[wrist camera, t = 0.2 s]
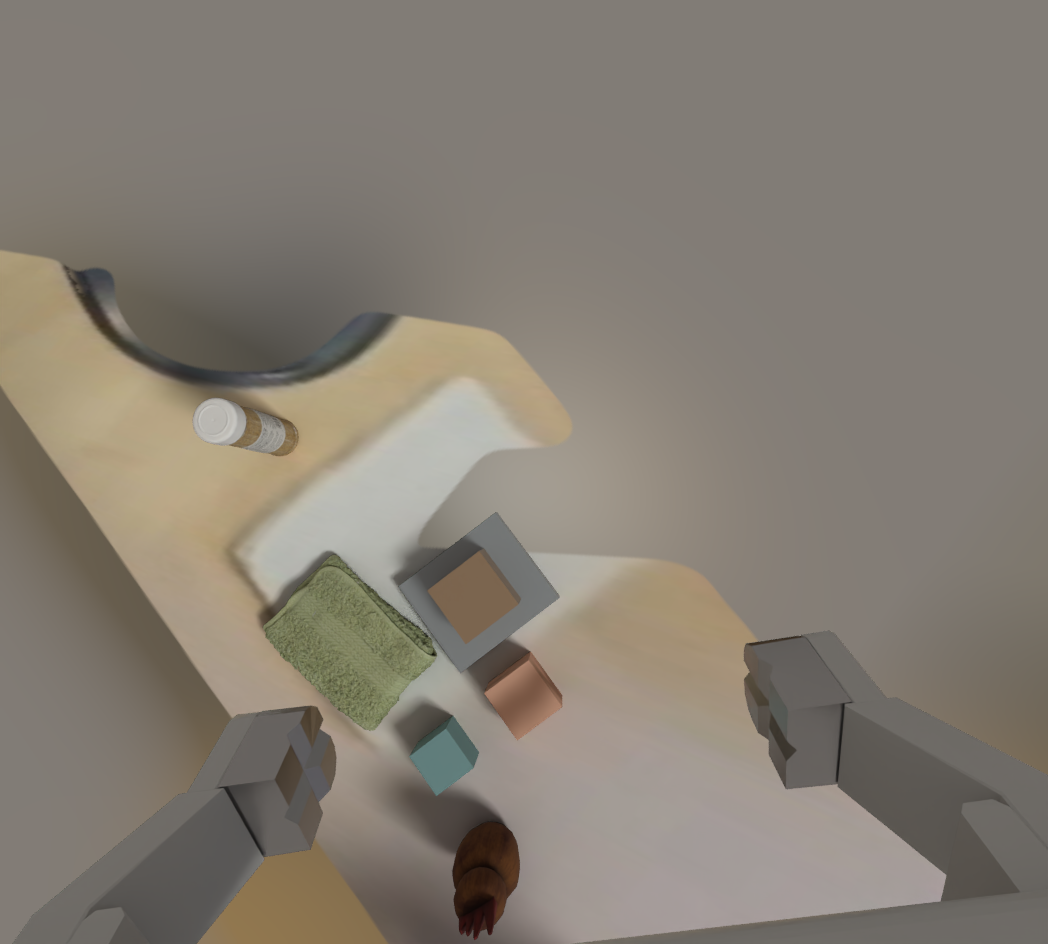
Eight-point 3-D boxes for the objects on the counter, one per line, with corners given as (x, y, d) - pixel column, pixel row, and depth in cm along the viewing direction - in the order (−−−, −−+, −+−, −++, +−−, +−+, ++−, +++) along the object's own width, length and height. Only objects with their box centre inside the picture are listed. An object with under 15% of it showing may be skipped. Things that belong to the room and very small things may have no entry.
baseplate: (559, 595, 63) (559, 603, 58) (462, 669, 63) (453, 684, 58) (496, 512, 65) (491, 512, 59) (402, 584, 65) (387, 591, 59)
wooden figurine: (518, 810, 62) (505, 904, 47) (525, 864, 61) (514, 976, 47) (459, 816, 62) (427, 912, 47) (465, 870, 62) (436, 984, 47)
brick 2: (562, 694, 63) (562, 706, 59) (519, 726, 63) (517, 740, 59) (530, 650, 63) (528, 660, 59) (488, 682, 63) (484, 693, 59)
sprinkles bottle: (257, 431, 67) (182, 411, 54) (289, 413, 67) (222, 388, 54) (274, 463, 67) (202, 451, 53) (306, 445, 67) (243, 428, 53)
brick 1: (479, 751, 63) (473, 767, 59) (444, 778, 63) (436, 796, 59) (453, 715, 63) (446, 728, 59) (418, 741, 63) (409, 756, 59)
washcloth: (335, 548, 66) (324, 549, 63) (445, 647, 64) (439, 654, 61) (264, 631, 66) (249, 637, 63) (372, 734, 64) (362, 745, 61)
